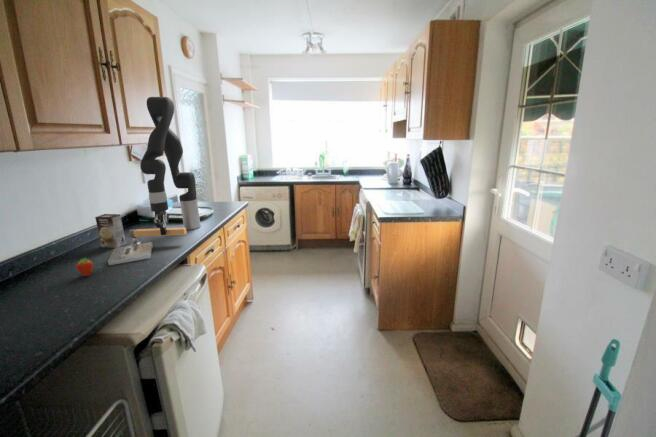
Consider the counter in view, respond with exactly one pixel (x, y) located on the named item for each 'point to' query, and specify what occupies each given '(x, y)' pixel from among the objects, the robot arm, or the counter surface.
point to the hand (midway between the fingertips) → (163, 234)
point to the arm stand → (134, 241)
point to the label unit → (130, 253)
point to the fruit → (85, 267)
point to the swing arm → (156, 232)
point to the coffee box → (110, 230)
